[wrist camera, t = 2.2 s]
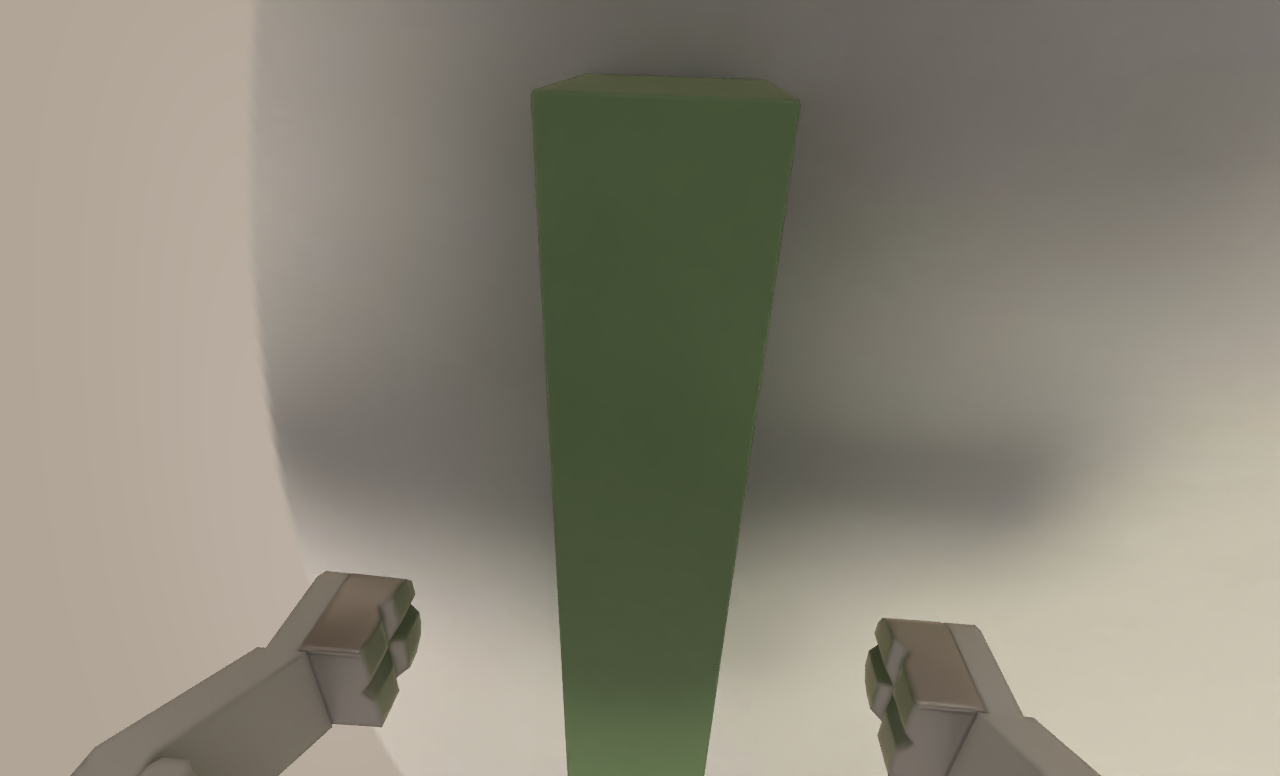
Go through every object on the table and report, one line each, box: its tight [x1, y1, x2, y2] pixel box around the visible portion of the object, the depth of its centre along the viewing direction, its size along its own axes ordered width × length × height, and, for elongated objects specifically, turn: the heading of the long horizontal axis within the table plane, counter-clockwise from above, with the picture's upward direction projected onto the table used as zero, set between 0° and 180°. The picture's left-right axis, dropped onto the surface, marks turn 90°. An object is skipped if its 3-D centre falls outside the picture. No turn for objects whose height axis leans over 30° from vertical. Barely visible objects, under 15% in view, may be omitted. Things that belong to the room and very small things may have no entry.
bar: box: [531, 74, 801, 776], centre depth 13 cm, size 16×3×4 cm, turn 178°
